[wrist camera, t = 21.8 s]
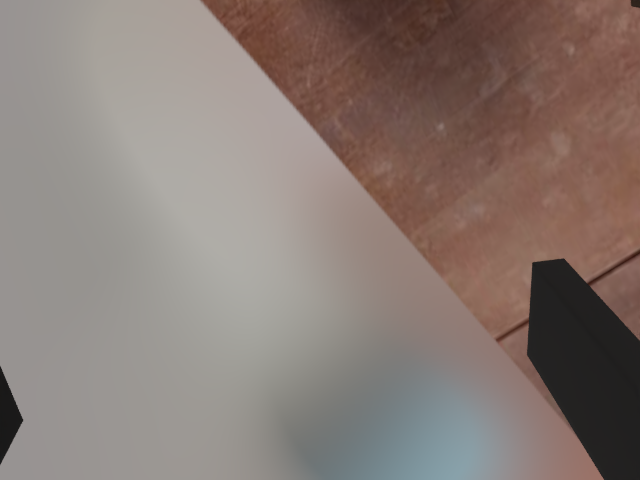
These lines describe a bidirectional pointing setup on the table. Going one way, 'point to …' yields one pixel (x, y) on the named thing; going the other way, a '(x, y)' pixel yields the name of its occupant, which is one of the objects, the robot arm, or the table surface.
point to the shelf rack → (635, 3)
